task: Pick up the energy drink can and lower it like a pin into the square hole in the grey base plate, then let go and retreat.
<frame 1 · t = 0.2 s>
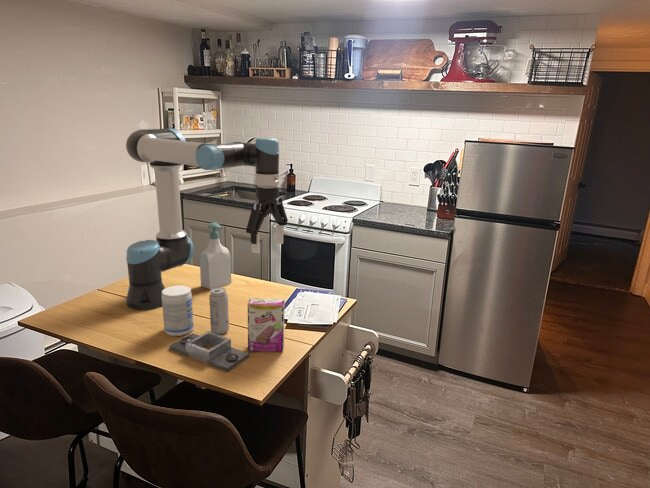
hand: (268, 247, 160), 27 cm above the counter, fingers open, 13 cm apart
grey base plate: (209, 352, 145), on the counter
energy drink can: (220, 332, 159), on the counter
supplement tub: (179, 331, 159), on the counter
soap bottle: (217, 285, 199), on the counter
candy bar box: (266, 349, 148), on the counter
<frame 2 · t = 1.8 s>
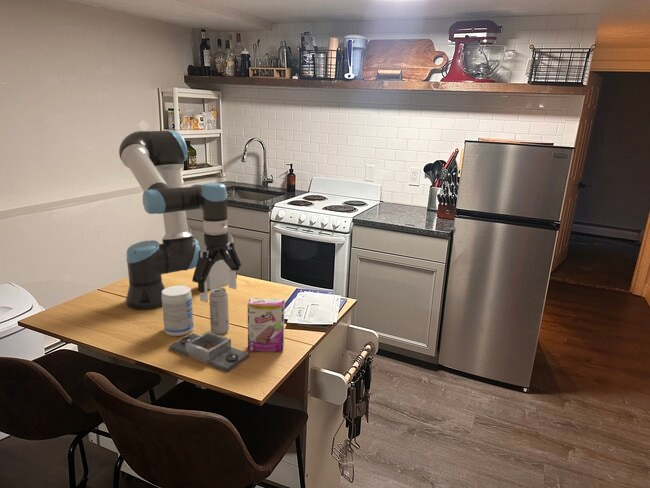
hand: (218, 294, 155), 14 cm above the counter, fingers open, 13 cm apart
nothing on the counter moved.
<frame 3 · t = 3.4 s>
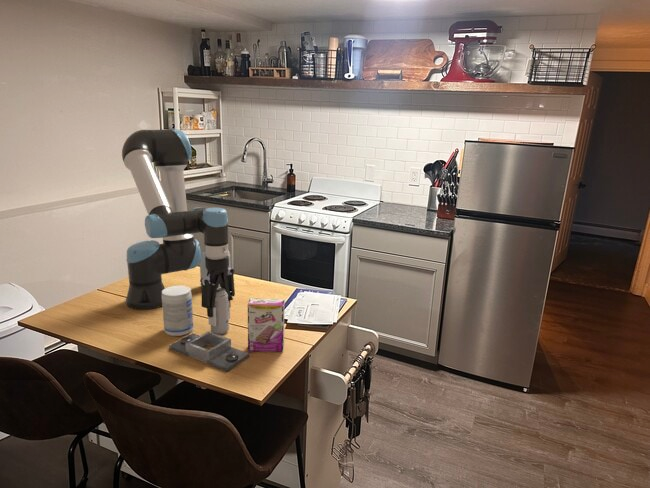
hand: (219, 321, 158), 4 cm above the counter, fingers closed on energy drink can, 6 cm apart
energy drink can: (220, 332, 159), on the counter, touching gripper
everything else where it was.
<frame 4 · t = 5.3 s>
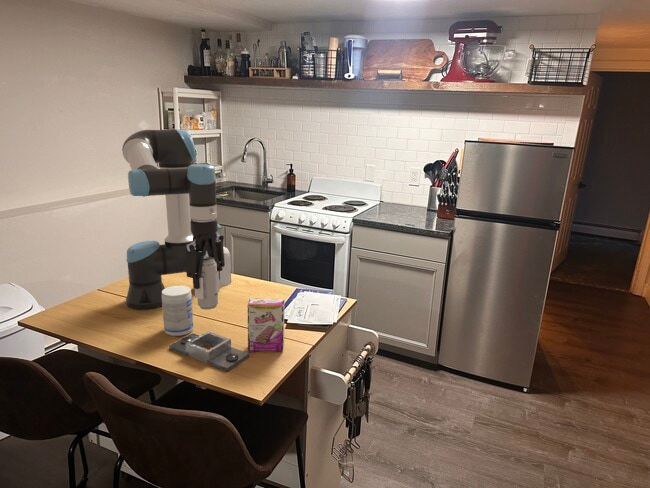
hand: (207, 294, 140), 19 cm above the counter, fingers closed on energy drink can, 6 cm apart
energy drink can: (208, 306, 141), point 15 cm above the counter, touching gripper
everything else where it was.
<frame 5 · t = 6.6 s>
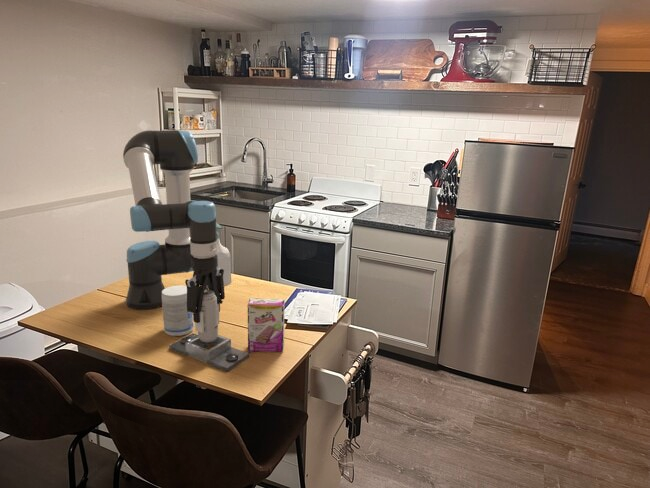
hand: (207, 326, 142), 9 cm above the counter, fingers closed on energy drink can, 6 cm apart
energy drink can: (208, 338, 144), point 5 cm above the counter, touching gripper
everything else where it was.
when the fingers open (6 cm above the counter, at t = 7.6 s): energy drink can drops 2 cm, resting in grey base plate.
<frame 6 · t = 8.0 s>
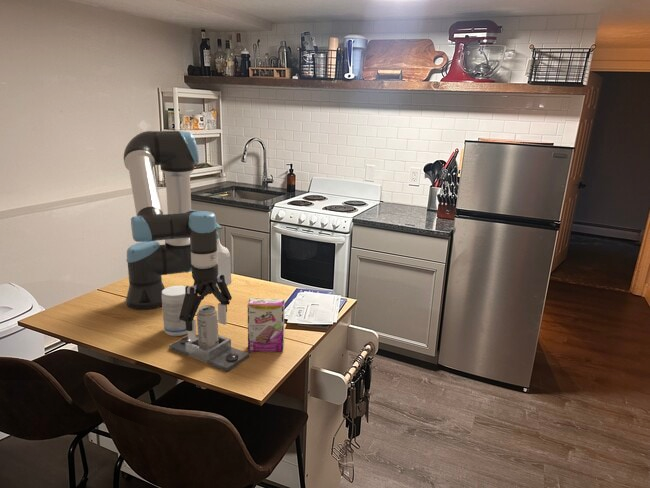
hand: (207, 331, 143), 7 cm above the counter, fingers open, 12 cm apart
energy drink can: (209, 353, 145), resting in grey base plate
everything else where it was.
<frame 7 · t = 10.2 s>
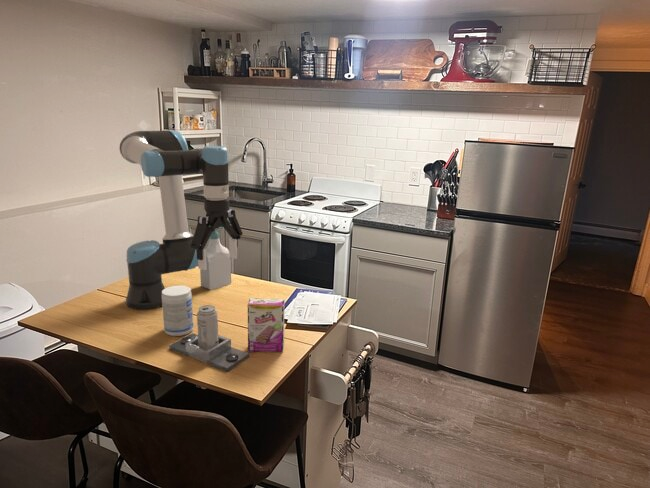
hand: (218, 263, 149), 25 cm above the counter, fingers open, 13 cm apart
nothing on the counter moved.
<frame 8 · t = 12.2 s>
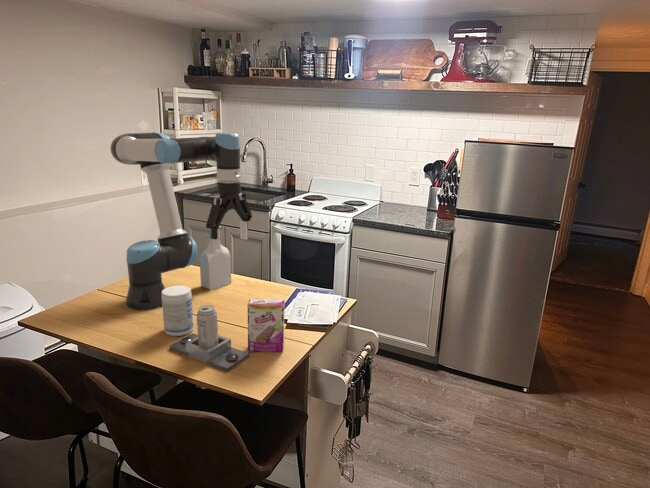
hand: (230, 243, 159), 29 cm above the counter, fingers open, 13 cm apart
nothing on the counter moved.
at the end: energy drink can 0.0 cm off-centre on the grey base plate, point 0.0 cm above the grey base plate's base; energy drink can tilted 0°; the gripper is holding nothing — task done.
